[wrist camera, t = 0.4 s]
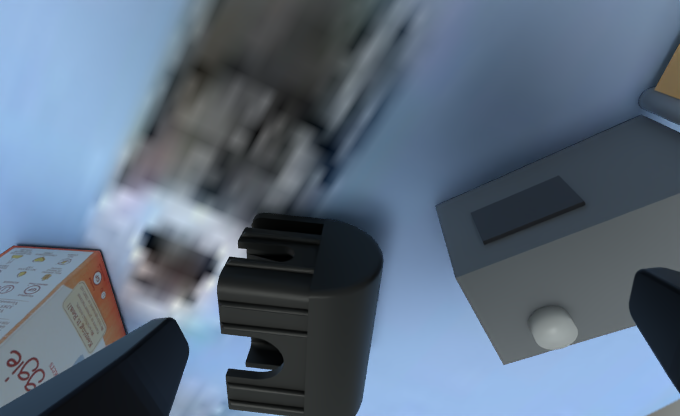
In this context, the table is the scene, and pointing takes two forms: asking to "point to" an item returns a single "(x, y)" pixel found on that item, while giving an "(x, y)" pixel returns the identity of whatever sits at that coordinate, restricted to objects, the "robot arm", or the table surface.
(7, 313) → the cracker box
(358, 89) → the table surface
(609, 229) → the block
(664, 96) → the door
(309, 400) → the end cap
